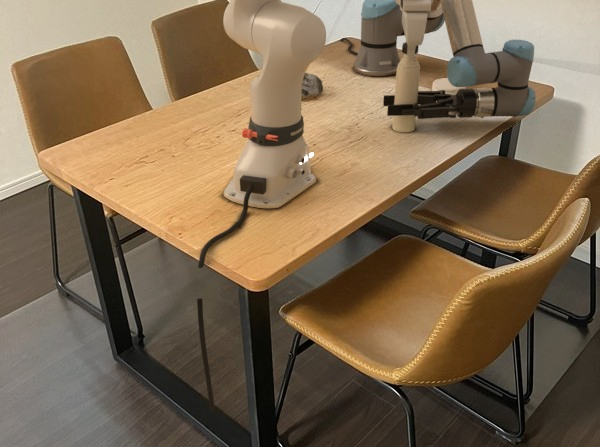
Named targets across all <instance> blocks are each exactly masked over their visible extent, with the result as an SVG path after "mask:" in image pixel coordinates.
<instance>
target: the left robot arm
mask: <svg viewBox="0 0 600 447" xmlns="http://www.w3.org/2000/svg"><path fill="white" fill-rule="evenodd" d="M395 2H396V4H398V5H399V6H400V10H401V11H402V26H403V30H404V34H405V35H404V38H405V42H407V45H408V47H407V56H408V57H414V56H416V54H415V48H416V45H418V46H421V45H422V44H423V42H424V38H425V35H426V34H425V28H426V23H427V16H428V11H431V4H432V3H433V0H395ZM222 22H223V28H224V32H225V33H226V35H227V36H228V37H229V38H230V39H231V40H232V41H233V42H235V43H236V44H238V45H239V46H240V47H241V48H243V49H245V50H248V51H252V52H254V53H257V54H259V55H261V57H262V66H261V71H260V74H258V75H257V76H255V77H254V78H253V79H252V80H251V82H250V84H249V101H250V102H249V103H250V117H249V123H248V126H247V128H245V127H244V128H243V129H242V131H241V137H242V138H244V139H247V140H246V142H245V144H244V146H243V148H242V151H241V153H240V154H239V157H238V159H237V161H236V163H235V166H234V167H233V168H234V169H233V177H232V178H231V180H230V181H229V183H228V184H227V186H226V187H225V188H224V190H223V196H224V198H225V199H228V200H229V201H231V202H233V203H237V204H239V205H243V206H242V212H241V213H240V216H239V219H238V220H237V221H236V222H235V223H234V224H233V225H232V226H230V227H229V228H228V229H226V230H224V231H222V232H221V233H219V234H217V235H215V236H214V237H212V238H211V239H209V240H208V241H207V242H206V243H205V245H203V247H202V249H201V251H200V255H199V258H198V259H199V260H198V265H197V268H198V269H203V267H204V266H205V261H206V256H207V253H208V250H209V249H210V248H211V247H212V246H213V245H214V244H215V243H216V242H218V241H220V240H221V239H224V238H225V237H227V236H229V235H231V234H232V233H233V232H235V231H236V230H237V229H238V228H239V227H240V226H241V225H242V224H243V223H244V221H245V219H246V216H247V213H248V210H249V207H252V208H258V209H278V208H280V207H283V205H285V204H286V203H288V202H289V201H292V199H294V198H295V197H296V196H298V195H299V194H301V193H303V192H304V191H305V190H307V189H308V188H309V187H311V186H313V185H314V184H316V182H317V176H316V175H315V174H314V173H312V167H311V158H312V157H314V152H310V147H309V145H308V144H307V142H306V140H305V138H304V133H305V132H304V131H305V130H304V127H305V121H304V116H303V115H302V98H301V92H302V82H303V78H304V75H305V73H307V69H308V68H309V66H310V65H311V64H312V63H313V62H315V61H316V60H317V59H318V58H319V57H320V56H321V54H322V53H323V51H324V49H325V46H326V41H327V29H326V26H325V25H326V24H325V23H324V22H323V20H322V18H320V17H319V16H317V15H316V14H315V13H313V12H311V11H310V10H308V9H306V8H305V7H303V6H299V5H295V4H291V3H287V2H284V1H282V0H230V2H229V3H228V4H227V6H226V8H225V10H224V12H223V18H222ZM203 303H204V302H203V298H196V304H197V305H196V307H197V322H198V323H197V324H198V334H199V341H200V348H201V356H202V363H203V370H204V377H205V382H206V390H207V397H208V404H209V412H210V414H215V412H216V410H215V400H214V393H213V384H212V379H211V371H210V366H209V358H208V351H207V350H208V349H207V343H206V332H205V322H204V307H203V306H204V305H203Z"/></svg>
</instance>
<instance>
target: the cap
mask: <svg viewBox="0 0 600 447" xmlns="http://www.w3.org/2000/svg"><path fill="white" fill-rule="evenodd" d="M401 46H402V47H401V53H402V54H403V55H404V54H407V47H408V45H407V42H406V41H405V42H403V43H402V45H401ZM419 47H420V45H416V48H415V55H417V54H418V53H419Z"/></svg>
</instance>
